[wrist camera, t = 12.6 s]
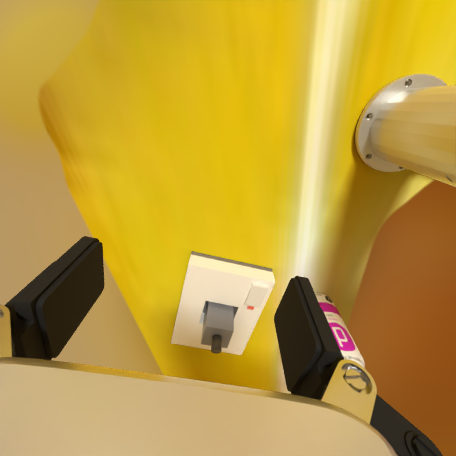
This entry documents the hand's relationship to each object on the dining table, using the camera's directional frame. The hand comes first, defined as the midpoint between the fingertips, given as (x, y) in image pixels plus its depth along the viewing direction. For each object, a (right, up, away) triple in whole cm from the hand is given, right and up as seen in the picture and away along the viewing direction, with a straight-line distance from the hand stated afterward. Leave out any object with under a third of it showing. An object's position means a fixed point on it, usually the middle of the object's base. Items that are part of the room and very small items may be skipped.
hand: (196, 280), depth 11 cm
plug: (0, -13, +37) cm, 40 cm away
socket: (0, -13, +38) cm, 40 cm away
